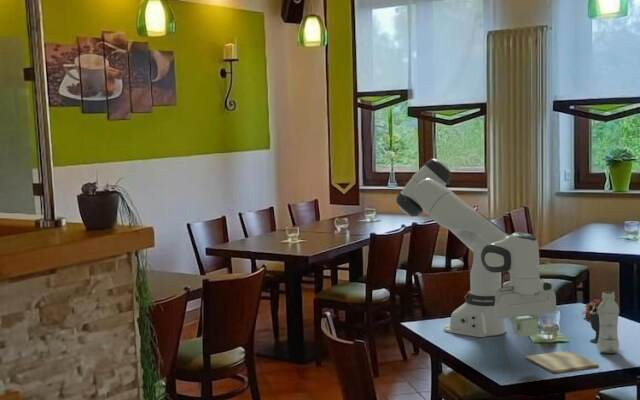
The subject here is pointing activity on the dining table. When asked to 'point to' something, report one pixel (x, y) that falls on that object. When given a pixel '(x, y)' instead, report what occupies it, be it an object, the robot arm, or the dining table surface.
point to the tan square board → (561, 361)
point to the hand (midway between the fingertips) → (525, 328)
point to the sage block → (526, 326)
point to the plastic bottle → (608, 324)
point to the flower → (589, 307)
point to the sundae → (594, 321)
